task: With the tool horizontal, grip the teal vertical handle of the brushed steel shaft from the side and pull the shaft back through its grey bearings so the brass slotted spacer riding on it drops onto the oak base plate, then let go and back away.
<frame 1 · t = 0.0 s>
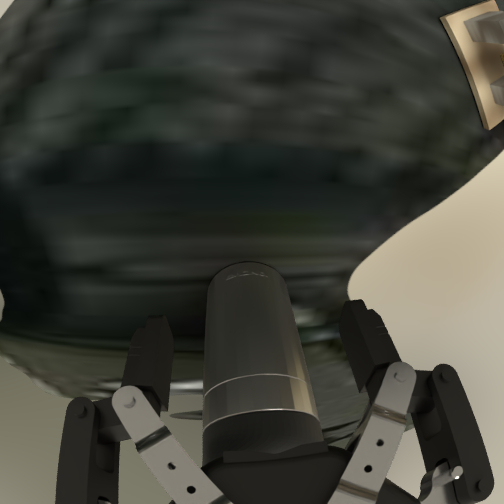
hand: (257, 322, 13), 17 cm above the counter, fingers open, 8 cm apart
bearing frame: (490, 60, 19), on the counter
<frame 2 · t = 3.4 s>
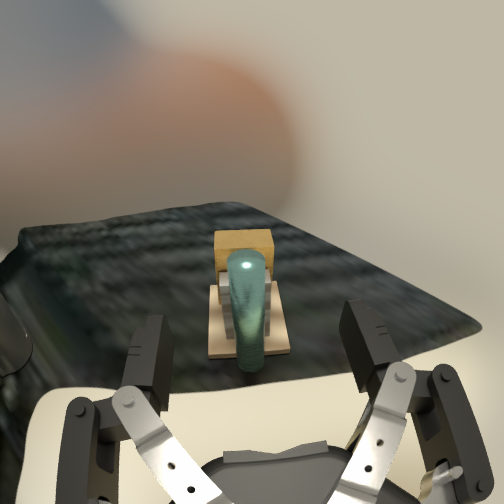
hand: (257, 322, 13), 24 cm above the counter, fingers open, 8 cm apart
shaft: (244, 274, 35), point 11 cm above the counter, slide at 0.0 cm, touching spacer
spacer: (243, 293, 42), point 5 cm above the counter, touching shaft
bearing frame: (246, 318, 44), on the counter
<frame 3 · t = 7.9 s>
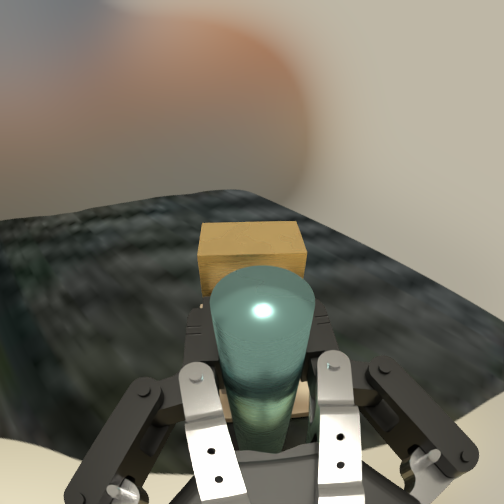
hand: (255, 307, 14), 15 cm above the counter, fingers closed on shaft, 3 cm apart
shaft: (252, 302, 19), point 12 cm above the counter, slide at 0.0 cm, touching gripper, spacer
spacer: (250, 324, 26), point 5 cm above the counter, touching shaft
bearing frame: (252, 358, 29), on the counter
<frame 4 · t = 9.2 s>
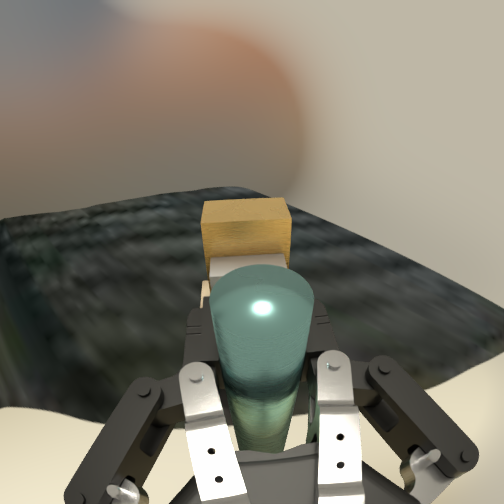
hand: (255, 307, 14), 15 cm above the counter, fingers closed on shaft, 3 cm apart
shaft: (252, 304, 19), point 12 cm above the counter, slide at 5.0 cm, touching gripper
spacer: (248, 292, 30), point 5 cm above the counter, touching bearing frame
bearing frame: (249, 325, 33), on the counter
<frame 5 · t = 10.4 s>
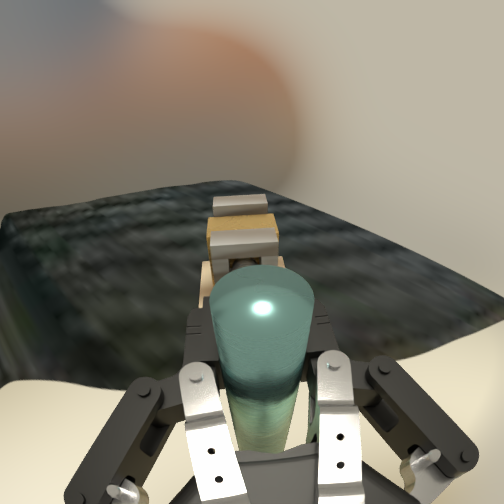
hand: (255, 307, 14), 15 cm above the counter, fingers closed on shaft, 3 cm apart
shaft: (250, 305, 19), point 12 cm above the counter, slide at 9.3 cm, touching gripper
spacer: (245, 291, 36), point 1 cm above the counter, touching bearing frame
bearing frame: (245, 299, 36), on the counter
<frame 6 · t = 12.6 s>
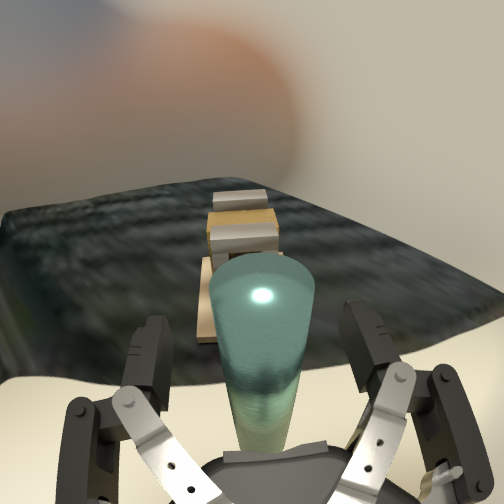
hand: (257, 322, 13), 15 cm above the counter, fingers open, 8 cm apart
shaft: (251, 298, 19), point 11 cm above the counter, slide at 9.3 cm
spacer: (245, 287, 36), point 1 cm above the counter, touching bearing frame
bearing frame: (246, 294, 36), on the counter
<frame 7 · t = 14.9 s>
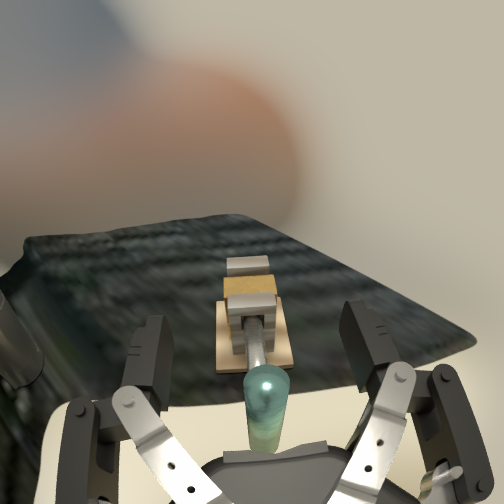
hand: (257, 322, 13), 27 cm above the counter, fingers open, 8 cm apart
shaft: (258, 358, 29), point 11 cm above the counter, slide at 9.3 cm
spacer: (251, 328, 46), point 1 cm above the counter, touching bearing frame
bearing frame: (251, 334, 46), on the counter
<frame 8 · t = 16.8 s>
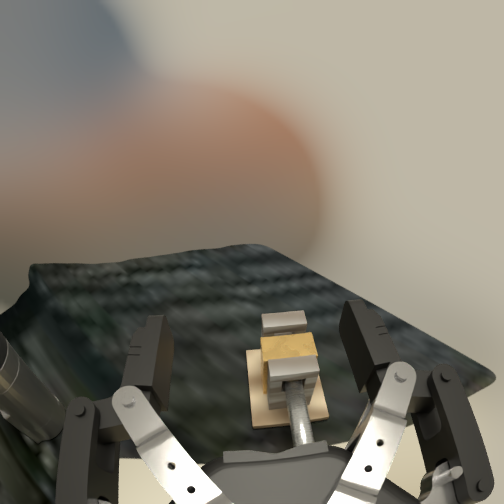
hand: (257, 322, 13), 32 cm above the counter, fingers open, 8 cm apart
shaft: (307, 432, 26), point 12 cm above the counter, slide at 9.3 cm
spacer: (284, 380, 43), point 1 cm above the counter, touching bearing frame
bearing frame: (284, 385, 43), on the counter
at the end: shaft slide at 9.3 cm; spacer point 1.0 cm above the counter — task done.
